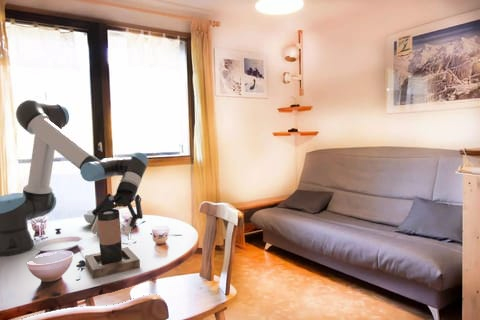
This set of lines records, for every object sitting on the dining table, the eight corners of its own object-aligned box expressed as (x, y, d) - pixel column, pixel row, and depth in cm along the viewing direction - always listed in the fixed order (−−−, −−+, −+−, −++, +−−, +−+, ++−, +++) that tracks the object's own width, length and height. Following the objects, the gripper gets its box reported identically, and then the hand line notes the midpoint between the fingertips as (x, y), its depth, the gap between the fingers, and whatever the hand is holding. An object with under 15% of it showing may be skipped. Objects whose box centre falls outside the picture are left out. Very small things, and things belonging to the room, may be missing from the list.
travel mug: (127, 262, 130) (123, 210, 128) (109, 269, 124) (105, 215, 121) (114, 258, 134) (110, 208, 132) (96, 265, 128) (92, 212, 126)
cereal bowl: (122, 219, 193) (121, 206, 192) (113, 228, 176) (112, 214, 176) (91, 220, 192) (90, 207, 191) (79, 229, 175) (78, 215, 175)
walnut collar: (93, 278, 118) (92, 270, 118) (85, 263, 131) (84, 255, 131) (139, 267, 126) (139, 259, 126) (128, 254, 140) (127, 246, 140)
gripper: (160, 191, 140) (144, 240, 127) (105, 190, 145) (84, 236, 132) (154, 181, 134) (136, 230, 121) (97, 179, 139) (74, 226, 126)
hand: (109, 233), depth 127 cm, fingers open, 13 cm apart
